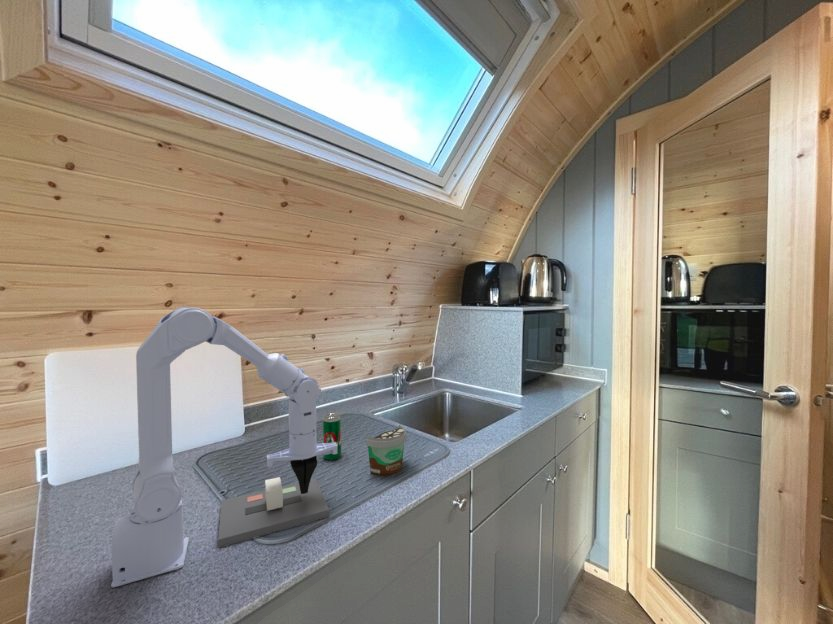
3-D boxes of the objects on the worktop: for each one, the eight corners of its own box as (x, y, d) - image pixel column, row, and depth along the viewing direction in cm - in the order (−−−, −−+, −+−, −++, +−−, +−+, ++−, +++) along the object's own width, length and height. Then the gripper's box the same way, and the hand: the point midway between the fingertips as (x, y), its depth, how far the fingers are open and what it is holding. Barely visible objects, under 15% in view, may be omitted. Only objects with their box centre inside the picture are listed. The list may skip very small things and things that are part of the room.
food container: (382, 484, 86) (381, 443, 85) (365, 475, 90) (365, 437, 89) (416, 466, 95) (416, 429, 94) (400, 459, 99) (400, 424, 99)
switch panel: (218, 547, 64) (218, 539, 64) (221, 507, 77) (221, 499, 77) (329, 516, 73) (329, 509, 73) (316, 484, 86) (315, 478, 86)
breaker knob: (267, 510, 72) (266, 491, 72) (265, 498, 76) (265, 480, 76) (282, 506, 73) (282, 487, 73) (280, 494, 78) (279, 477, 78)
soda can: (334, 451, 104) (333, 411, 103) (345, 456, 101) (344, 415, 100) (319, 457, 100) (318, 415, 100) (330, 463, 97) (329, 419, 96)
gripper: (331, 419, 84) (332, 475, 84) (265, 429, 77) (266, 490, 78) (339, 429, 77) (340, 489, 78) (267, 441, 71) (269, 507, 72)
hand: (303, 491), depth 78 cm, fingers closed
